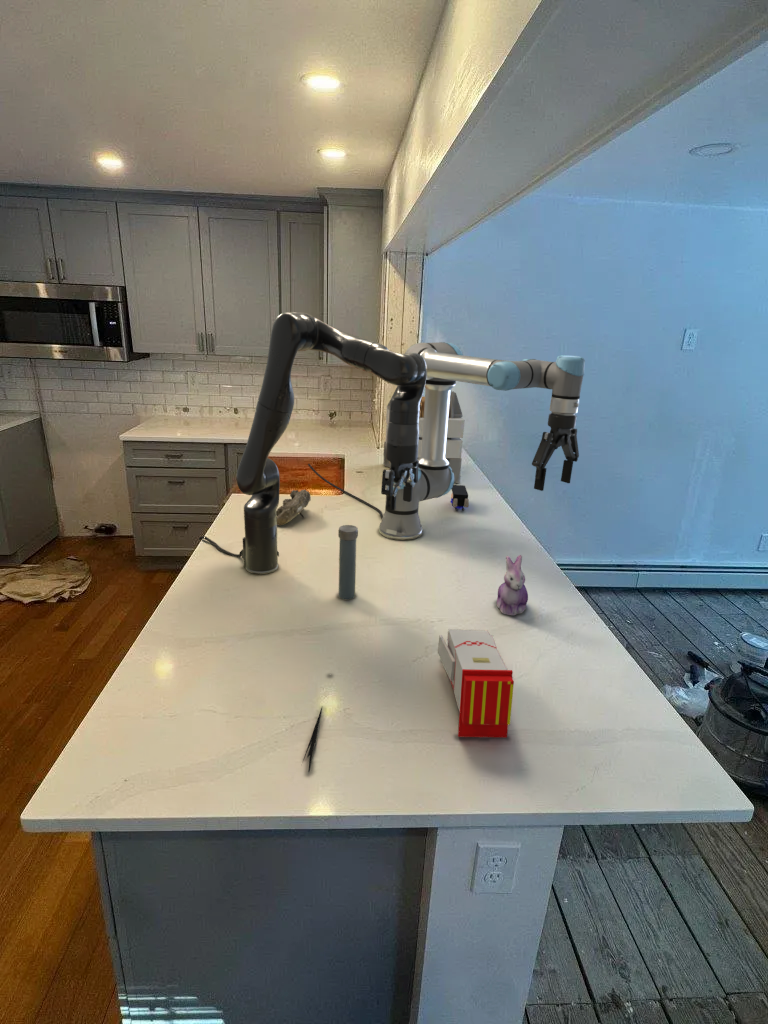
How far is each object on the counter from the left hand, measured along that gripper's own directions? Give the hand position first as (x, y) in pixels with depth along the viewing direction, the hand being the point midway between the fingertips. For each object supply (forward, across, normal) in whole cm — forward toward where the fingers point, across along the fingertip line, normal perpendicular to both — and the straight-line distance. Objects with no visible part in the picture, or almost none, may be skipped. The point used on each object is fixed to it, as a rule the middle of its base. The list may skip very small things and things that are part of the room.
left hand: (399, 505), depth 139 cm
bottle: (+29, 0, -15) cm, 33 cm away
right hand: (+1, -46, +26) cm, 53 cm away
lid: (+10, 0, -15) cm, 18 cm away
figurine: (+29, -19, +26) cm, 44 cm away
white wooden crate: (+29, -123, -54) cm, 138 cm away
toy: (+29, +20, +30) cm, 47 cm away
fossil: (+29, -39, -65) cm, 81 cm away
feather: (+29, +44, +9) cm, 54 cm away
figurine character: (+29, -88, -19) cm, 95 cm away
